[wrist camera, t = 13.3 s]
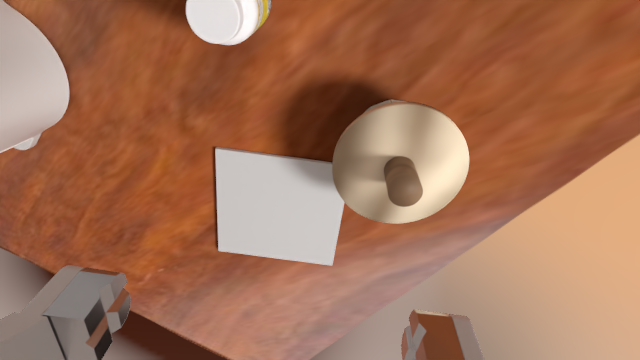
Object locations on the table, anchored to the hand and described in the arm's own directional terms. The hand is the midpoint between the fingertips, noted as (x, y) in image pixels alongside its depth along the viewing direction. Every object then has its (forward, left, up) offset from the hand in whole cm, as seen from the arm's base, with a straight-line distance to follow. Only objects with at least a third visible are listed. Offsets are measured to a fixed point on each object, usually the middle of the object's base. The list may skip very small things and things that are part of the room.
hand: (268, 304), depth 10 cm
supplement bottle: (-8, +4, -31) cm, 33 cm away
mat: (-3, -20, -31) cm, 37 cm away
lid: (+9, -8, -25) cm, 28 cm away
